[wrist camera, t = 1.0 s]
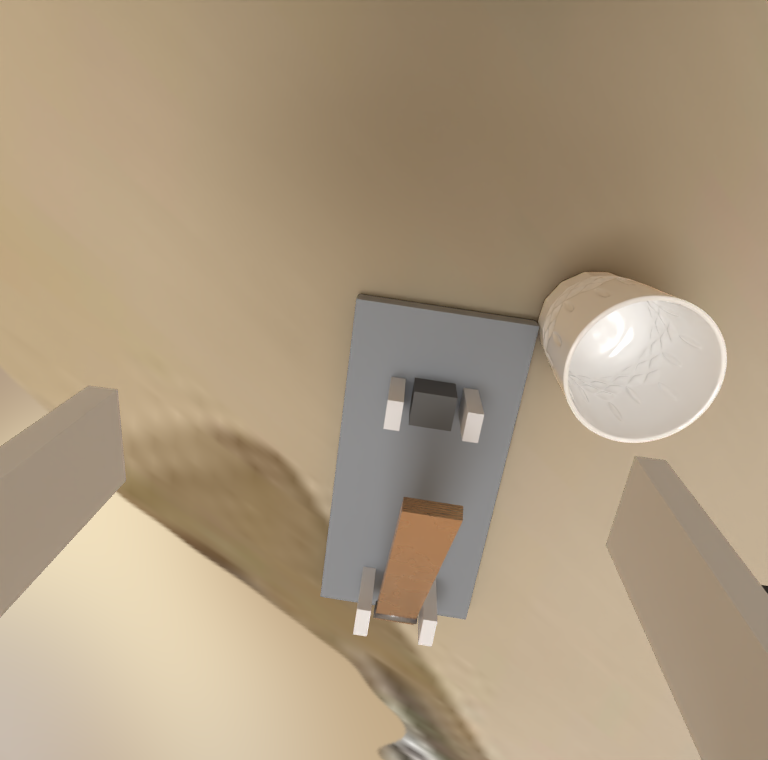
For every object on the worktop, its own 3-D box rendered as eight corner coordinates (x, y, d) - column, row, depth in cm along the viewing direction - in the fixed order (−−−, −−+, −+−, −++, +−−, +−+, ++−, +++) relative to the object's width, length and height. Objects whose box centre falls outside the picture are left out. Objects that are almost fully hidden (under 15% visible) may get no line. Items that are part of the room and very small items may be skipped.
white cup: (674, 294, 36) (762, 339, 27) (605, 393, 39) (663, 466, 29) (569, 240, 35) (622, 267, 26) (507, 346, 38) (534, 405, 29)
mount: (358, 293, 37) (347, 316, 32) (535, 320, 37) (554, 348, 32) (323, 583, 46) (309, 640, 41) (464, 605, 46) (470, 666, 41)
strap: (401, 492, 28) (399, 514, 27) (465, 502, 28) (464, 525, 27) (374, 604, 42) (372, 621, 42) (415, 611, 42) (414, 627, 42)
